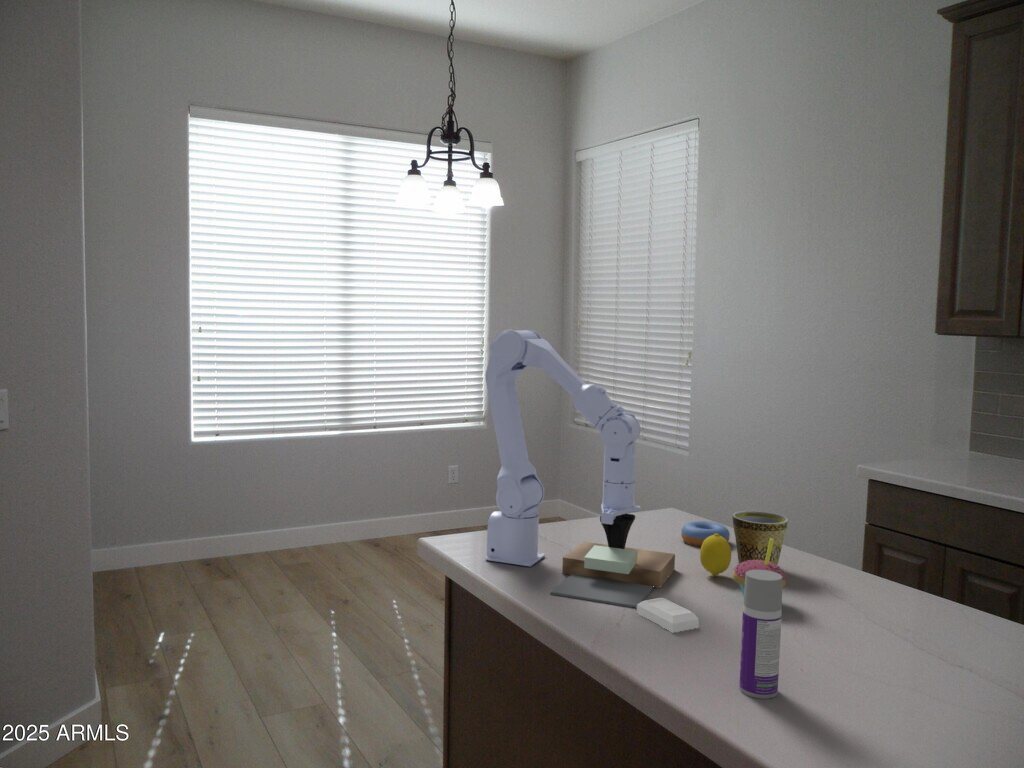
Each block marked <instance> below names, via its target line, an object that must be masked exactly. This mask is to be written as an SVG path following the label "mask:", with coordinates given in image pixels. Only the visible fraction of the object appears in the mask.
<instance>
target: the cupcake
mask: <svg viewBox="0 0 1024 768" xmlns="http://www.w3.org/2000/svg"><path fill="white" fill-rule="evenodd" d="M773 536H774V535H772V538H770V540H769V544H768V549H767V554H766V559H765V561H763V560H755V559H754V560H746V561H744V562H742V563H740V564H739V563H737V565H736V567H735V568H734V569H733V570H734V571H733V574H732V579H733V580H734V582H736V583H737V584H739V587H740V590H741V593H742V596H743V597H742V598H743V599H744V588H745V575H746V572H747V571H749V570H768V571H772V572H776V573H778V574H780V575H781V576H782V588H784V587H786V584H787V581H788V575H787V574H786V572H785V571H784V570H783V568H782V567H780V566H779V565H776V564H775V563H772V562H771V561H769V560H770V555H771V551H772V546H773V541H774V539H773Z"/></svg>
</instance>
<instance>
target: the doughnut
mask: <svg viewBox="0 0 1024 768" xmlns="http://www.w3.org/2000/svg"><path fill="white" fill-rule="evenodd" d="M715 533H717V534H719V535H720V536H722V537H723V538H725V539H726V540H727V541H728V542H729V541H730V536H731V534H730V530H729V529H728V527H726V526H725V525H723V524H720V523H718V522H714V521H703V520H702V521H701V520H698V521H696V520H695V521H689V522H687V523H685V524H684V525H683V526H682V528H681V538H682V539H683V541H684V542H685V543H686V544H687V545H691V546H693V547H697V546H698V547H699V548H701V546H702V543H703V542H704V540H705V539H706V538H707V537H709V536H711V535H714V534H715ZM698 547H697V548H698Z"/></svg>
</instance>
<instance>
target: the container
mask: <svg viewBox="0 0 1024 768" xmlns="http://www.w3.org/2000/svg"><path fill="white" fill-rule="evenodd" d="M782 605H783V587H782V576H781V575H780V574H778V573H776V572H772V571H768V570H749V571H747V572H746V575H745V588H744V598H743V604H742V621H741V623H742V624H741V638H740V639H741V640H740V641H741V643H740V644H741V645H740V661H739V662H740V664H739V690H740V691H741V693H743V694H744V695H746V696H748V697H751V698H755V699H763V700H764V699H766V700H767V699H769V700H770V699H773V698H775V697H776V696H778V689H779V675H780V674H779V671H780V653H781V652H780V651H781V634H782V611H783V609H782Z"/></svg>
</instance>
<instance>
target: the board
mask: <svg viewBox="0 0 1024 768" xmlns="http://www.w3.org/2000/svg"><path fill="white" fill-rule="evenodd" d="M594 545H597V546H604V547H608V544H604V543H597V542H589V541H582V542H581V543H580V544H578V545H577V546H576V547H574V548H573V549H572V550H570V551H569V552H568V553H566V554H565V555H564V556H562V568H561V569H562V571H561V573H562V575H569V576H570V575H571V574H577V575H583V576H590V577H596V578H603V579H609V580H616V581H623V582H629V583H636V584H642V585H649V586H654V587H660V586H661V585H662V584H663V583H664V584H665V582H666V581H667V580H668V579H669V577H670V576H671V575H672V574H673V572H674V571H675V569H676V567H675V564H676V554H675V553H670V552H664V551H663V552H662V551H655V550H648V549H642V548H641V549H640V548H634V547H626V546H625V549H626V550H634V551H637V563H636V564H635V566H634V567H633V569H632V570H631V571H630V573H629V574H623V573H616V572H609V571H602V570H595V569H588V568H584V557H585V556H586V555H587V553H588V552H589V551H590V550H591V549H592V548H593V546H594ZM673 570H674V571H673ZM670 574H671V575H670ZM669 575H670V576H669ZM668 576H669V577H668ZM667 578H668V579H667ZM666 579H667V580H666ZM665 580H666V581H665ZM664 581H665V582H664ZM664 584H663V585H664ZM663 585H662V586H663ZM662 586H661V587H662ZM661 587H660V588H661Z"/></svg>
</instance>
